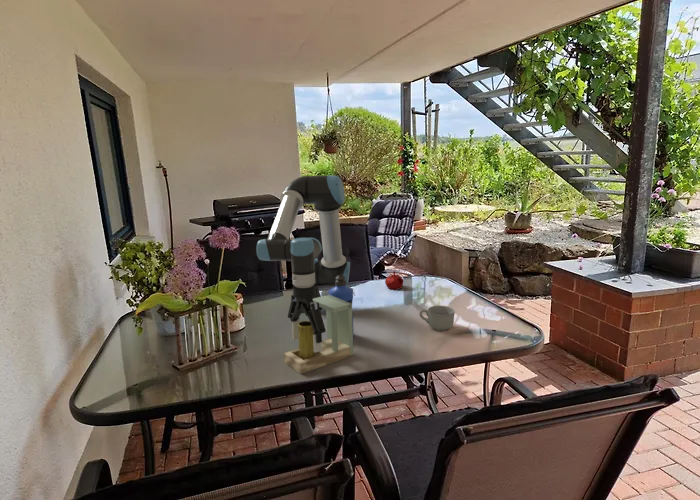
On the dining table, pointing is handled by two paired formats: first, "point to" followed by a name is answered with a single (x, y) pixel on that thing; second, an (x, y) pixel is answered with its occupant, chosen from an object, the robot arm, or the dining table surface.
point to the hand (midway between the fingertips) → (306, 344)
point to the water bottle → (342, 291)
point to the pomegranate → (394, 281)
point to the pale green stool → (337, 320)
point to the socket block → (317, 357)
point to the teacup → (439, 317)
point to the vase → (305, 340)
